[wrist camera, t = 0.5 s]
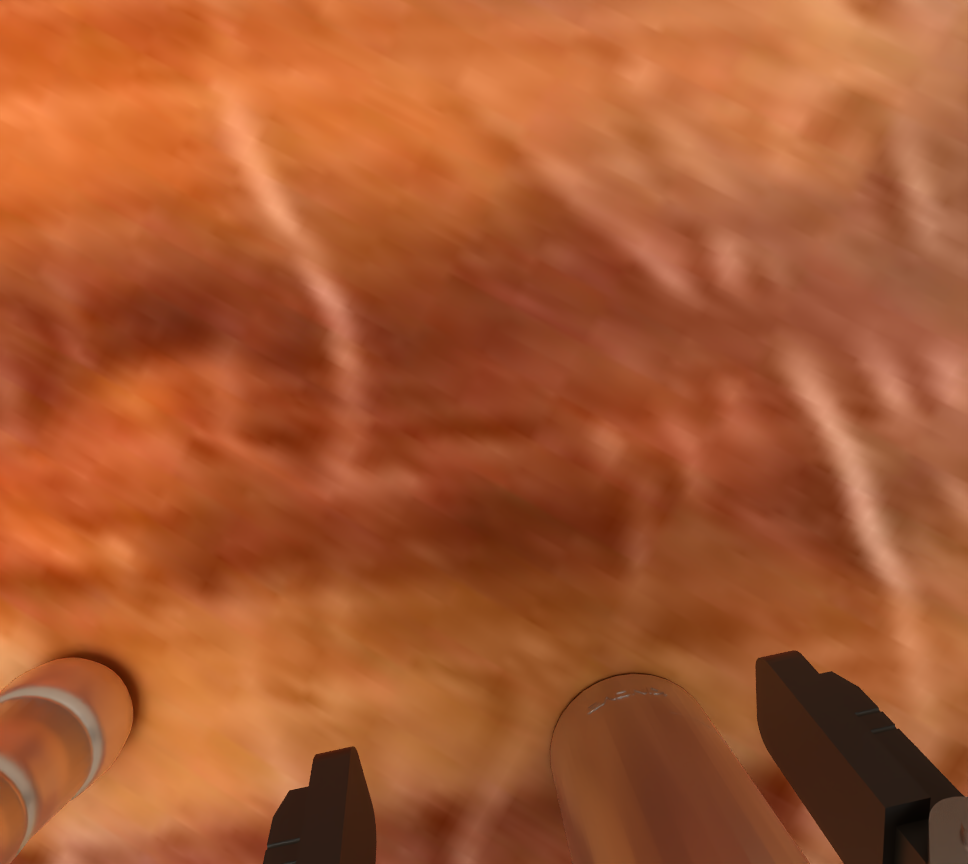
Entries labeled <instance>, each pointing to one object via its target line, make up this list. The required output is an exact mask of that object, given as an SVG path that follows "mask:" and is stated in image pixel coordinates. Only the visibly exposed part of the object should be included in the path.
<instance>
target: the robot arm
mask: <svg viewBox="0 0 968 864" xmlns="http://www.w3.org/2000/svg"><path fill="white" fill-rule="evenodd" d="M756 697H757V721H758V726H759V730H760V734H761V737H762V739H763V742H764V744H765V746H766V748H767V750H768V752H769V753H770V755H771V756H772V758H773V759H774V761H775V762H776V764H777V765H778V767H779V768H780V770H781V771H782V773H783V774H784V776H785V777H786V779H787V780H788V782H789V783H790V785H791V786H792V787H793V789H794V790H795V792H796V793H797V795H798V796H799V798H800V799H801V801H802V802H803V804H804V805H805V807H806V808H807V810H808V811H809V813H810V814H811V816H812V817H813V818H814V820H815V821H816V823H817V824H818V826H819V827H820V829H821V830H822V832H823V833H824V835H825V836H826V838H827V839H828V841H829V842H830V844H831V845H832V847H833V848H834V849H835V851H836V852H837V854H838V855H839V857H840V858H841V860H842V861H843V863H844V864H968V797H965V796H963V795H962V794H961V793H960V792H959V791H958V790H957V789H956V788H955V787H954V786H953V785H952V783H951V782H950V781H949V780H948V779H947V778H946V777H945V776H944V775H943V774H942V773H941V772H940V771H939V770H938V769H937V768H936V767H935V766H934V765H933V764H932V763H931V762H930V761H929V760H928V759H927V757H926V756H925V755H924V754H923V753H922V752H921V751H920V750H919V749H918V748H917V747H916V746H915V745H914V744H913V743H912V742H911V741H910V740H909V739H908V738H907V737H906V736H905V735H904V734H903V733H902V731H901V730H900V729H896V727H895V724H894V723H893V722H892V721H891V720H890V719H889V718H888V717H887V716H886V715H885V714H884V713H883V712H880V711H879V708H878V707H877V705H876V704H875V703H874V702H873V701H872V700H871V699H870V698H869V697H868V696H867V695H866V694H865V693H864V692H863V691H862V690H861V689H860V688H859V687H858V686H856V685H854V684H853V683H851V682H849V681H847V680H846V679H844V678H842V677H840V676H839V675H837V674H835V673H833V672H832V671H831V672H826V673H822V674H819V673H818V672H817V671H816V670H815V669H814V668H813V666H812V665H811V664H810V663H809V662H808V661H807V660H806V659H805V658H804V656H803V655H802V654H801V653H799V652H798V651H789V652H784V653H780V654H775V655H770V656H766V657H761V658H758V659H757V661H756ZM550 765H551V769H552V774H553V778H554V783H555V787H556V792H557V796H558V801H559V805H560V810H561V815H562V820H563V825H564V829H565V834H566V838H567V842H568V847H569V851H570V855H571V860H572V864H810V863H809V862H808V860H807V859H806V857H805V856H804V855H803V853H802V852H801V850H800V849H799V847H798V846H797V845H796V843H795V842H794V840H793V839H792V837H791V836H790V834H789V833H788V832H787V830H786V829H785V827H784V826H783V824H782V823H781V821H780V820H779V819H778V817H777V816H776V814H775V813H774V811H773V810H772V809H771V807H770V806H769V804H768V803H767V801H766V800H765V798H764V797H763V796H762V794H761V793H760V791H759V790H758V788H757V787H756V786H755V784H754V783H753V781H752V780H751V778H750V777H749V775H748V774H747V773H746V771H745V770H744V768H743V767H742V765H741V764H740V762H739V761H738V760H737V758H736V757H735V755H734V754H733V752H732V751H731V749H730V748H729V746H728V745H727V743H726V742H725V740H724V739H723V738H722V736H721V735H720V733H719V732H718V731H717V729H716V728H715V726H714V725H713V723H712V722H711V721H710V719H709V718H708V716H707V715H706V713H705V712H704V711H703V709H702V708H701V707H700V705H699V704H698V703H697V701H696V700H695V699H694V698H693V697H692V696H691V695H690V694H689V693H688V692H686V691H685V690H684V689H683V688H682V687H680V686H678V685H676V684H674V683H672V682H670V681H669V680H666V679H663V678H659V677H656V676H652V675H644V674H628V675H620V676H615V677H612V678H609V679H606V680H603V681H600V682H598V683H596V684H595V685H593V686H591V687H589V688H588V689H586V690H584V691H583V692H582V693H581V694H580V695H579V696H577V697H576V698H575V699H574V700H573V701H572V702H571V703H570V704H569V706H568V707H567V708H566V710H565V711H564V712H563V714H562V715H561V717H560V719H559V721H558V723H557V725H556V728H555V730H554V732H553V737H552V742H551V747H550ZM375 862H376V824H375V816H374V810H373V806H372V802H371V798H370V795H369V791H368V788H367V784H366V780H365V777H364V773H363V770H362V766H361V763H360V759H359V756H358V753H357V750H356V748H355V747H354V746H353V747H348V748H343V749H339V750H334V751H330V752H325V753H320V754H316V755H315V757H314V759H313V764H312V770H311V776H310V782H309V786H308V787H304V788H299V789H295V790H290V791H289V792H288V794H287V795H286V797H285V799H284V800H283V802H282V803H281V805H280V807H279V808H278V810H277V811H276V813H275V815H274V816H273V820H272V824H271V829H270V834H269V838H268V843H267V850H266V852H265V857H264V861H263V864H375Z"/></svg>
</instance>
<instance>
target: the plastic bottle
mask: <svg viewBox="0 0 968 864" xmlns="http://www.w3.org/2000/svg"><path fill="white" fill-rule="evenodd" d="M132 723H133V706H132V701H131V697H130V695H129V692H128V690H127V687H126V685H125V684H124V682H123V681H122V679H121V678H120V677H119V676H118V675H117V674H116V673H115V672H114V671H113V670H111V669H110V668H108V667H107V666H105V665H102V664H100V663H98V662H95V661H92V660H88V659H83V658H62V659H56V660H53V661H50V662H48V663H45V664H43V665H40V666H38V667H36V668H34V669H32V670H29V671H27V672H25V673H24V674H22V675H20V676H19V677H17V678H15V679H14V680H13V681H12V682H11V683H10V684H8V685H7V686H6V687H5V688H4V689H3V690H2V691H1V692H0V864H10V863H11V862H12V860H13V859H14V858H15V857H16V856H17V855H18V853H19V852H20V851H21V849H22V848H23V847H24V846H25V844H26V843H27V842H28V841H29V839H30V838H31V837H32V836H33V835H34V834H36V833H37V832H38V831H39V830H40V829H41V828H42V827H43V826H44V825H45V824H46V823H47V822H48V821H49V820H50V819H51V818H52V817H53V816H54V815H55V814H56V813H57V812H58V811H59V810H60V809H61V808H63V807H64V806H65V805H66V804H67V803H68V802H69V801H70V800H72V799H74V798H75V797H76V796H78V795H79V794H81V793H82V792H83V791H84V790H86V789H87V788H88V787H89V786H90V785H91V784H92V783H94V782H95V781H96V780H97V779H98V778H99V777H100V776H102V775H103V774H104V773H105V772H106V771H107V770H108V769H109V768H110V767H111V766H112V764H113V763H114V762H115V760H116V759H117V757H118V755H119V753H120V751H121V750H122V748H123V746H124V744H125V742H126V740H127V738H128V736H129V734H130V731H131V727H132Z"/></svg>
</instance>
